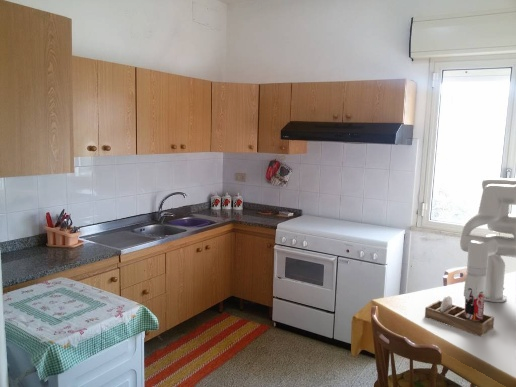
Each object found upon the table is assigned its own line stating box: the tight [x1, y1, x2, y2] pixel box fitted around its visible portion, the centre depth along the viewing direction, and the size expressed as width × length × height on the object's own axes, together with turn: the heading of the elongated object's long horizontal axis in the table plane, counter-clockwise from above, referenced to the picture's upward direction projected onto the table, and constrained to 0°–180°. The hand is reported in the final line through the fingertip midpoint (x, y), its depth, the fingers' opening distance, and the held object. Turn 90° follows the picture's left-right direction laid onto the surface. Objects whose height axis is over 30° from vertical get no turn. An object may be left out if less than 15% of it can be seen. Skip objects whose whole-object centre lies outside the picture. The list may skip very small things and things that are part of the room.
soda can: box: [464, 292, 485, 321], centre depth 181 cm, size 7×7×12 cm
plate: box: [440, 295, 453, 313], centre depth 191 cm, size 9×1×9 cm, turn 130°
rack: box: [424, 300, 495, 337], centre depth 187 cm, size 12×24×4 cm, turn 40°
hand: (473, 310), depth 181 cm, fingers closed on soda can, 7 cm apart
